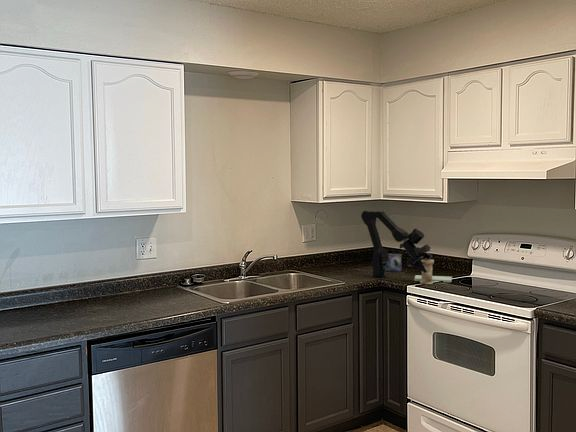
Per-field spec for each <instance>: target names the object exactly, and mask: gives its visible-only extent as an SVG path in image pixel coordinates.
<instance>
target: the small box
mask: <svg viewBox="0 0 576 432" xmlns="http://www.w3.org/2000/svg"><path fill="white" fill-rule="evenodd" d="M388 255H389V256H388V257H389V260H388V262H387V264H386V265H385V266H384V268H385V272H388V271H389V272H393V273H402V270H403V269H402V265H403V264H402V257H403V254H402V253H389V252H388ZM389 272H388V273H389Z"/></svg>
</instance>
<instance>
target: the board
mask: <svg viewBox="0 0 576 432" xmlns="http://www.w3.org/2000/svg"><path fill="white" fill-rule="evenodd" d="M452 278H453V276H446V275H445V276H444V275H441V276H440V275H432V281H443V282H442V283H451V282H452V280H453V279H452ZM420 280H422V274H420V275H419V274H417V275H415V276H414V281H415V282H420Z"/></svg>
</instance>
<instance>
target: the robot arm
mask: <svg viewBox="0 0 576 432" xmlns="http://www.w3.org/2000/svg"><path fill="white" fill-rule="evenodd" d="M360 217H361V219H362V221H363V224H364V225H366V227H367V230H368V233H369V236H370V240H371V243H372V247H373V259H372V261H370V266H371V267H372V276H371V277H372V278H384V277H385V276H386V271H385V268H384V266H385V265H386V264H387V262H388V260H389V257H388V256H389V255H388V253H389V252H388V249H385V248H383V244H382V242H381V237H380V236H379V235H380V234H379V231H378V229H377V225H376V222H377V219H378V220H379V221H380V222H381V223H382V224H383V225H384V226H385V227H386V228H387V230H389V231H390V232H391V235H392V237H393V239H394V240H395V241H396V242H397V243H399V242H402V243H400V244H399V249H404V250H405V251H406V252H407V256H408V257H409V256H410V257H409V258H408V260H406V265H407V266H408V267H412V268H414V269H417V270H420V271H421V272H422V271H423V272H424V273H426V272H427V271H426V269H425V268H424V266H423V265H422V263H421V259H432V258H433V254H432V253H430V252H431V246H430V245H429V244H424V245H423V246H421V247H418V246H416V245H418V244H419V243H420V242H421V241H422V240H423V239H424V238H425V234H424V232H422V231H420V230H418V228H413V230H412V231H411V232H410V233H408V232H407V231H406V230H405V229H403V228H401V227H399V226H398V225H397V224H396V223H395V222H394V221H393V220H392V219H391V218H390V217H389V216H388V215H387V214H386V213H385V211H384V210H379V211H375V210H372V209H371V210H364V211H362V212H361V216H360ZM433 271H434V268H433V267H432V272H433Z"/></svg>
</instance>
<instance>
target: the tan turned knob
mask: <svg viewBox="0 0 576 432" xmlns="http://www.w3.org/2000/svg"><path fill="white" fill-rule="evenodd" d="M421 263H422V265H423V266H424V268H425V269H426V271H427V272H426V273H424V272H423V271H421V275H422V280H420V281H419V284H421V285H428V284H429V285H434V284H433V283H435V282H434V281H432V276H433V271H432V268H433V265H434V264H435V259H432V258H431V259H421Z"/></svg>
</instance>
